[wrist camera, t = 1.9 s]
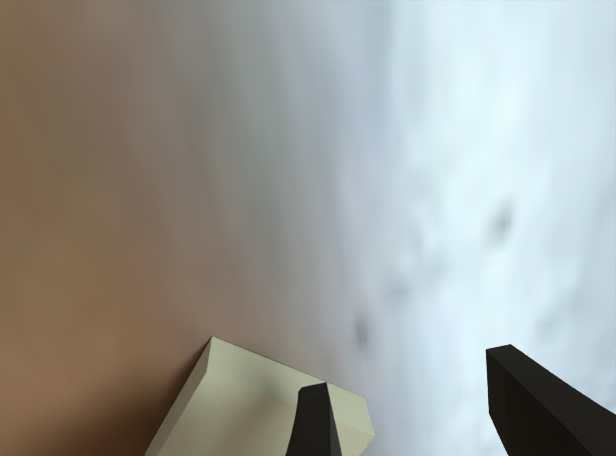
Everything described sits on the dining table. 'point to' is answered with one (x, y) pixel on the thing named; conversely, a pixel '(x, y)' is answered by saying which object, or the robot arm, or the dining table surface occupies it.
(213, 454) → the cream toy brick
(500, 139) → the dining table surface
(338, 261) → the dining table surface
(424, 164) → the dining table surface
